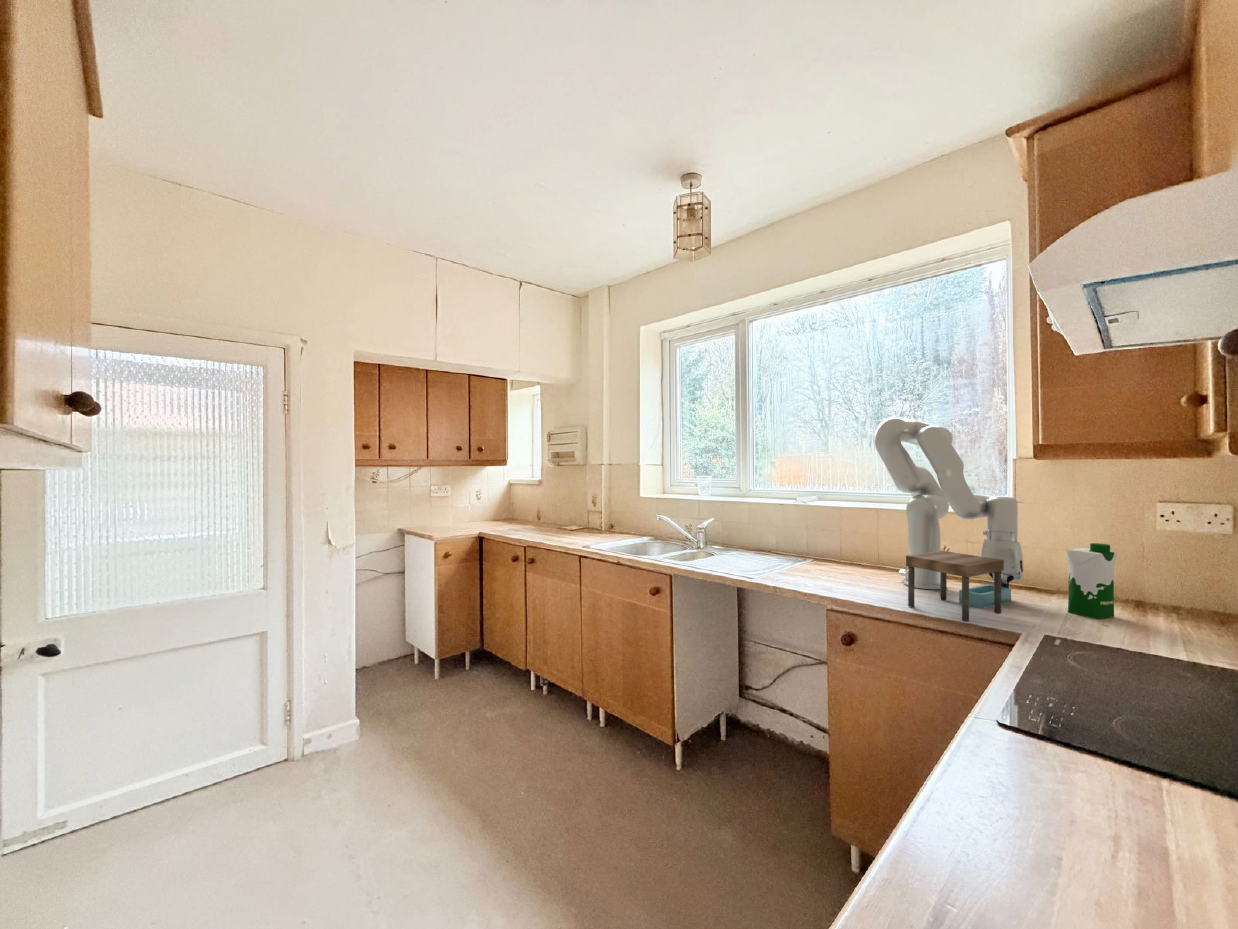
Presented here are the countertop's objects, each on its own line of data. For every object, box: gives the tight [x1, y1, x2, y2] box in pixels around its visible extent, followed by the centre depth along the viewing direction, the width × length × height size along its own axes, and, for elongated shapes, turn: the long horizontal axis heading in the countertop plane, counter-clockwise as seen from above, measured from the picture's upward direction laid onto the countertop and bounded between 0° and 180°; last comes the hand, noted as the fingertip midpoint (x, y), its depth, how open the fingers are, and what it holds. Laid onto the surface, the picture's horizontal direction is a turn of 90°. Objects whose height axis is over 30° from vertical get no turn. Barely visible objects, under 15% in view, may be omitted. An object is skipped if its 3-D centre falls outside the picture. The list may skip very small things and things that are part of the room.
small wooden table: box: [905, 550, 1004, 623], centre depth 147 cm, size 17×18×15 cm
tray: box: [958, 583, 1012, 609], centre depth 155 cm, size 6×16×4 cm, turn 118°
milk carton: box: [1065, 542, 1118, 620], centre depth 142 cm, size 9×9×20 cm
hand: (1002, 594), depth 159 cm, fingers closed
